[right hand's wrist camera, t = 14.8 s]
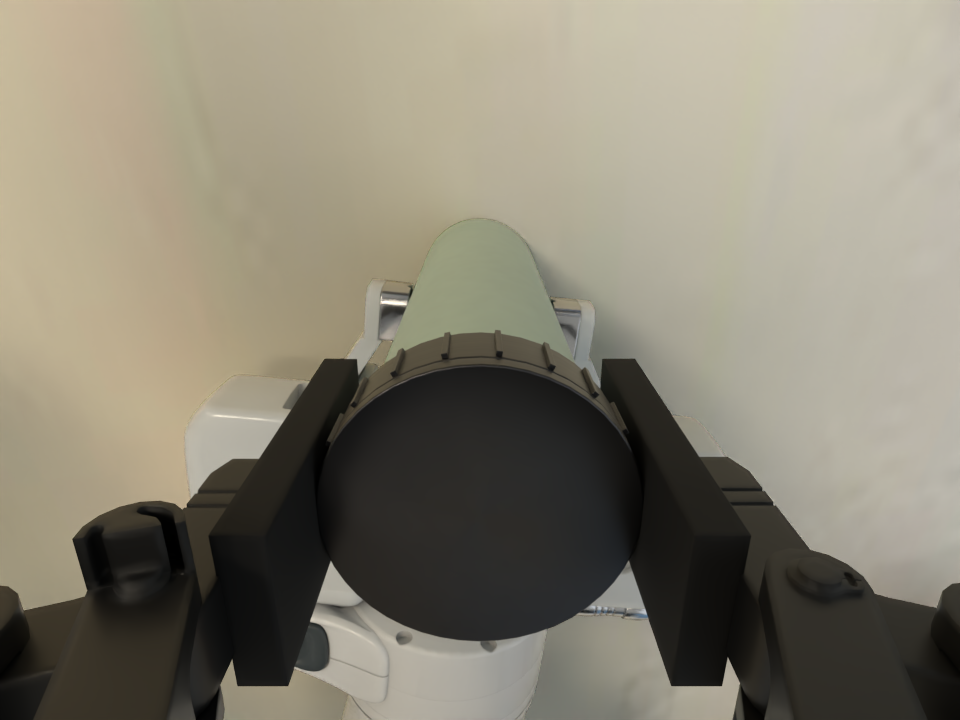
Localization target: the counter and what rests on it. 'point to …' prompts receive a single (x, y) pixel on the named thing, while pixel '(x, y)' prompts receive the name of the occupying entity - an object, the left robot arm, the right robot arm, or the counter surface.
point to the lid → (479, 489)
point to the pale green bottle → (479, 290)
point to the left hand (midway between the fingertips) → (480, 292)
